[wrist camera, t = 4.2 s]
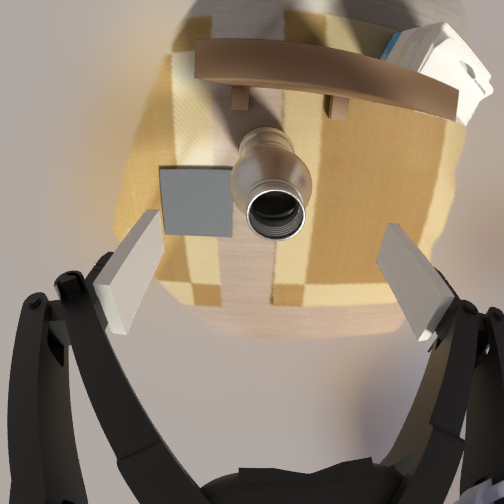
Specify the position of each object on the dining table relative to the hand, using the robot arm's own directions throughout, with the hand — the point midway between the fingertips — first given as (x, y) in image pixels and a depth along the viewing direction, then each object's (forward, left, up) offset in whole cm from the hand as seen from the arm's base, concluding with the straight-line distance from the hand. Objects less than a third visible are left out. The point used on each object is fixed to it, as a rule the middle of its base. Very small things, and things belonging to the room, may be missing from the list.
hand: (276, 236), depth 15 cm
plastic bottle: (0, 0, -22) cm, 22 cm away
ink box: (-14, +18, -22) cm, 32 cm away
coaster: (+8, -9, -22) cm, 25 cm away
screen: (-9, +3, -22) cm, 24 cm away
